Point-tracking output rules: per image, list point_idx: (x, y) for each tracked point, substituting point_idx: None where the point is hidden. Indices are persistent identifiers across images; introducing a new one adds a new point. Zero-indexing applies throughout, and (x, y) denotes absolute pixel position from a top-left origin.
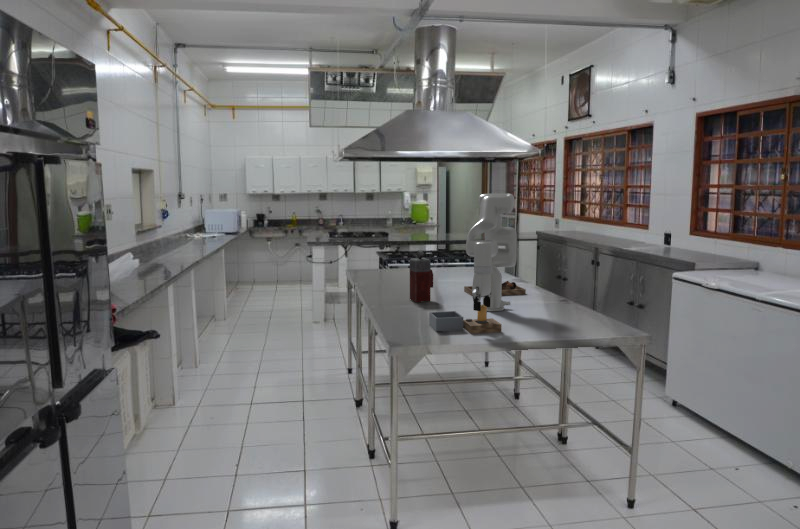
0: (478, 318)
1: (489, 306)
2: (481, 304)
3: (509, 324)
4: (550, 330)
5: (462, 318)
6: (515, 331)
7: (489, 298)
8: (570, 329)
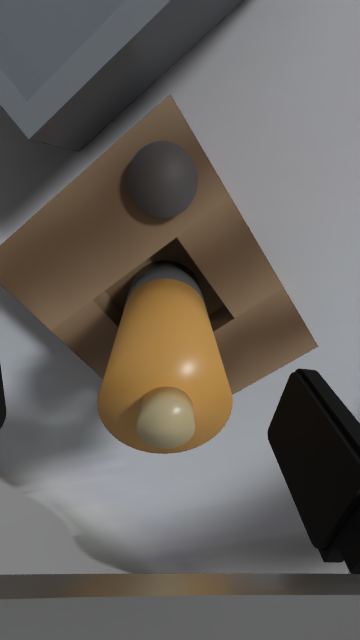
0: (127, 305)
1: (270, 442)
2: (183, 415)
3: (355, 389)
4: (274, 530)
5: (25, 129)
6: (207, 444)
7: (339, 554)
8: (308, 565)
